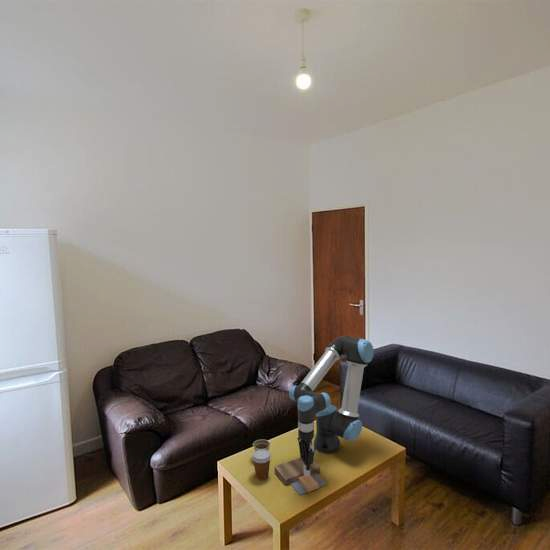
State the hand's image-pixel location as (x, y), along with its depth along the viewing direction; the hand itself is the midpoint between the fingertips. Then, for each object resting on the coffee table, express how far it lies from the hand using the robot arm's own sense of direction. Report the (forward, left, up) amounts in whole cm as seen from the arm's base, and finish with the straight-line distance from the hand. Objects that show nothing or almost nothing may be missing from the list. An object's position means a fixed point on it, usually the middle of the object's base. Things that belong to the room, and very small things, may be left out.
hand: (306, 474), depth 176 cm
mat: (0, +1, -4) cm, 4 cm away
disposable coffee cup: (+17, -15, -5) cm, 23 cm away
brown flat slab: (0, -9, -4) cm, 10 cm away
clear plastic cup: (+11, -28, -5) cm, 31 cm away
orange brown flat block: (0, +2, -4) cm, 4 cm away
